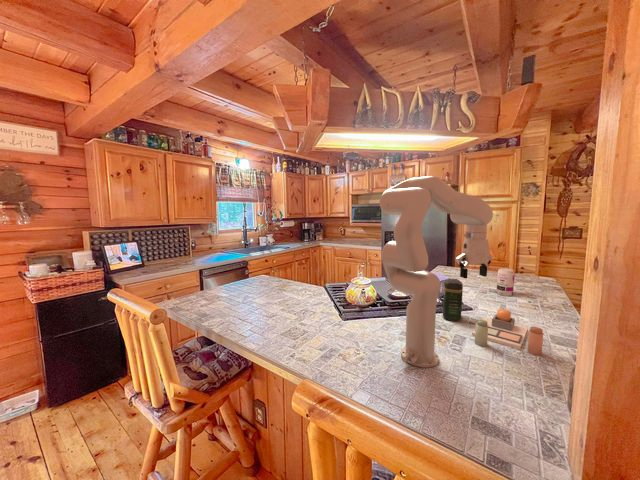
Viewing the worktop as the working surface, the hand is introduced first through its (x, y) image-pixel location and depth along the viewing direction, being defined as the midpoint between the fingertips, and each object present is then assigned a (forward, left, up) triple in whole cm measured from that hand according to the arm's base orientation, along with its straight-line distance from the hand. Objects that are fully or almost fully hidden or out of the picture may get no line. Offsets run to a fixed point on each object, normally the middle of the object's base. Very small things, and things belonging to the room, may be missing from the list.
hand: (473, 276), depth 110 cm
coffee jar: (+9, +10, -24) cm, 27 cm away
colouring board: (+6, -10, -24) cm, 26 cm away
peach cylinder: (-3, -22, -24) cm, 32 cm away
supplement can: (+64, -2, -24) cm, 68 cm away
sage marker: (-9, -6, -24) cm, 26 cm away
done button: (+11, -10, -20) cm, 25 cm away
